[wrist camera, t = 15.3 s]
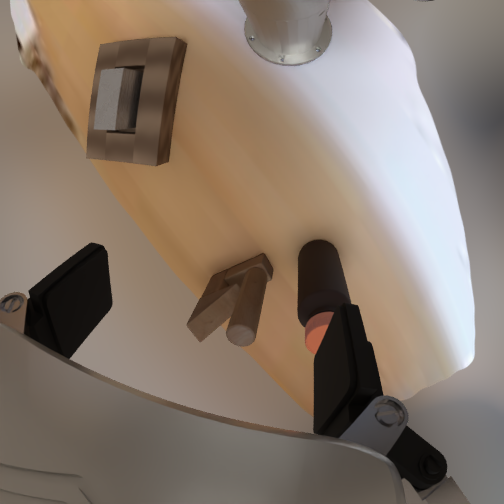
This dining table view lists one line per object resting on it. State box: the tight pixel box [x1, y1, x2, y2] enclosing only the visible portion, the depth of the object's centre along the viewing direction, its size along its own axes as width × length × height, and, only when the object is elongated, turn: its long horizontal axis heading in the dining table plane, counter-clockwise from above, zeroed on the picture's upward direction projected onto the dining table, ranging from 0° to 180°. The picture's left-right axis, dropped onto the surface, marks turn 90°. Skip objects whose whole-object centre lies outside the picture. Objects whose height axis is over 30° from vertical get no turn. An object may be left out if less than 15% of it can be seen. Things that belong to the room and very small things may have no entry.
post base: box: [86, 37, 187, 166], centre depth 37 cm, size 20×14×4 cm
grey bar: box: [94, 68, 144, 130], centre depth 35 cm, size 9×4×8 cm, turn 170°
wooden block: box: [187, 254, 273, 346], centre depth 42 cm, size 4×11×18 cm, turn 120°
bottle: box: [297, 240, 351, 354], centre depth 38 cm, size 7×7×20 cm
